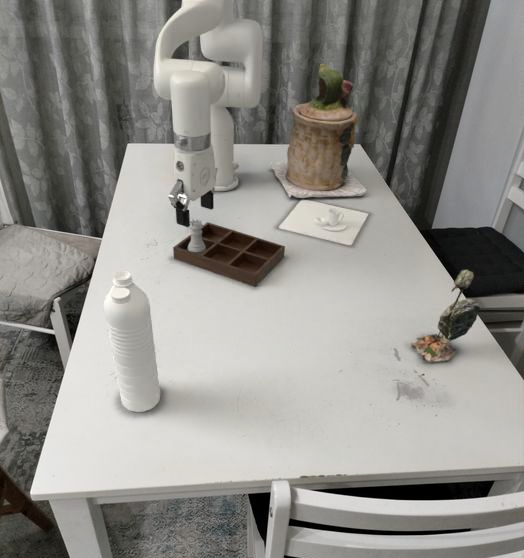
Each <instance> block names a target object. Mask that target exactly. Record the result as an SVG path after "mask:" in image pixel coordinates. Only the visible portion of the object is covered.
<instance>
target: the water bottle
mask: <svg viewBox="0 0 524 558" xmlns="http://www.w3.org/2000/svg"><path fill="white" fill-rule="evenodd" d="M112 283H113V285H112V286H111V288H110V289H109V291H108V293H107V294H106V296H105V298H104V301H103V313H104V317H105V322H106V327H107V332H108V336H109V343H110V347H111V353H112V357H113V358H112V359H113V365H114V369H115V373H116V380H117V385H118V391H119V396H120V400H121V404H122V406H123V407H124V408H125V409H126V410H128V411H130V412H136V413H143V412H147V411H150V410H152V409H154V408H155V407H156V406H157V405H158V404H159V402H160V399H161V389H160V381H159V380H160V379H159V372H158V364H157V363H158V362H157V354H156V346H155V345H156V344H155V340H154V331H153V322H152V314H151V304H150V299H149V298H148V296H147V294H146V292H144V291H143V290H142V289H141V288H140V287H139V286H138V285H136V283H135V282H134V278H133V277H132V275H131V273H130V272H129V271H126V270H120V271H117V272H115V273H114V274H113V279H112Z"/></svg>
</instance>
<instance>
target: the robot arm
mask: <svg viewBox="0 0 524 558" xmlns="http://www.w3.org/2000/svg"><path fill="white" fill-rule="evenodd" d="M197 37H199V44H200V51H201V53H202V55H203V56H204V58H206V59H208V60H211V61H205V60H204V61H203V60H195V59H181V58H180V59H179V58H172V57H173V55H174V53H175V51H176V50H177V49H178V48H179V47H180V46H181V45H183V44H184V43H186V42H188V41H190V40H193V39H196V38H197ZM263 53H264V36H263V30H262V26H261V25H260V23H259V22H258V21H256V20H254V19H250V18H238V17H235V0H181V7H180V8H179V9H178V10H177V11H176V12H174V13H173V14H172V15H171V17H170V18H168V20H167V22H166V23H165V24H164V25H163V27H162V28H161V30H160V32H159V34H158V37H157V39H156V43H155V50H154V61H153V87H154V91H155V92H156V94H157V95H158V96H159V98H161V99H163V100H166V101H171V117H172V132H173V146H174V150H173V151H174V152H173V168H172V169H173V170H172V171H173V173H172V176H173V177H172V178H173V187H172V189H171V191H170V192H169V194H168V200H169V202H170V205H171V206H172V207H173V209H175V220H176V224H177V225H180V226H183V227H185V228H190V227H189V226H190V222H191V219H190V215H191V214H190V209H189V206H190V202H195V201H197V200H198V199H199V198H200V207H202V208H204V209H208V210H213V209H214V208H215V206H214V205H215V203H214V192H228V191H231V190H234V189H236V188H237V187H238V185H239V179H238V177H237V176H236V175H235V173H234V172H235V170H237V169H238V168H239V167H240V164H239V162H238V161H234V159H235V158H234V154H235V153H234V152H235V151H234V150H235V145H234V144H235V123H234V122H235V121H234V119H233V117H232V115H231V113H230V111H229V110H228V109H227V108H239V109H253V108H256V107H257V106H258V105H259V104H260V101H261V97H262V80H263V59H264V57H263V55H264V54H263ZM212 61H218V62H226V63H227V62H228V63H241V64H242V65H243V66H244V67H238V66H237V67H236V66H227V65H219V64H218V63H216V62H212ZM182 199H184V201H183V203H182V202H181V200H182Z"/></svg>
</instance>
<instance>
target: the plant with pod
mask: <svg viewBox="0 0 524 558" xmlns="http://www.w3.org/2000/svg"><path fill="white" fill-rule="evenodd" d="M474 277H475V276H474V272H473V271H472V270H471V271H470V270H469V269H462V270H460V272H459V273H458V274H457V276H456V278H455V280H454V281H453V284H454V287H452V289H451V293H453V292H454V291H455V290H456V289H460V290H459V292H458V295H457V296H456V299H455V301H454V302H453V303H451V304H450V305H449V306H447V307H446V309H444V310H443V312H442V313H441V314H440V315H439V320H438V322H437V329H438V330H439V332H438V333H435V334H425V335H422V336H420V337H416V339H415V340H413V341H412V342H411V343H410V346H411V347H413V348H416V350H415V351H417V353H418V355H419V356H420V357H421V359H422V361H423V362H427V363H432V362H433V363H435V362H436V363H437V362H443V361H444V362H447V361H449V360H450V359H451V358H452V357H453V355H455V354H456V352H458V350H457V349H456V347H452V346H451V345H450V344H449V342H452V341H455V340H458V339H459V338H460V337H462V336H465V335H466V334H467V333H468V332H469V330H470V329H471V328H472V327H473V325H474V323H475V322H476V321H477V318H478V315H479V312H480V310H481V306H483V307H484V303H482V304H481V305H480V304H479V303H478V302H477V301H475V300H474V299H471V298H464V299H460V297H461V296H462V293H463V292H464V290H466V289H468V288H469V287H470V285H471V284H472V282H473V280H474Z"/></svg>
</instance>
